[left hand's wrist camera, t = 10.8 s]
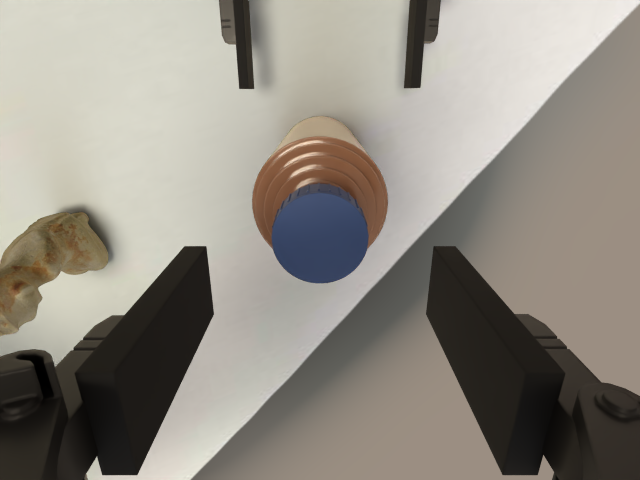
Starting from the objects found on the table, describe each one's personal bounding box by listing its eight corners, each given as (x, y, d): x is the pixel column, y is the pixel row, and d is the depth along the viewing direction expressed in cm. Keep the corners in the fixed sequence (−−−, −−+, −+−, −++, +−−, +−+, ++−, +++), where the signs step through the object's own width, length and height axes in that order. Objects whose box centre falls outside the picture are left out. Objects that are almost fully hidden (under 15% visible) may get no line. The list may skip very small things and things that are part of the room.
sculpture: (73, 270, 45) (-38, 352, 31) (45, 212, 42) (-91, 272, 28) (121, 261, 45) (30, 339, 31) (95, 201, 42) (-18, 256, 28)
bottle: (279, 191, 42) (232, 305, 20) (283, 112, 39) (234, 141, 17) (353, 197, 42) (391, 318, 20) (363, 120, 39) (420, 158, 17)
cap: (272, 264, 20) (268, 280, 19) (277, 178, 19) (272, 187, 17) (359, 271, 20) (362, 288, 19) (371, 186, 19) (376, 196, 17)
